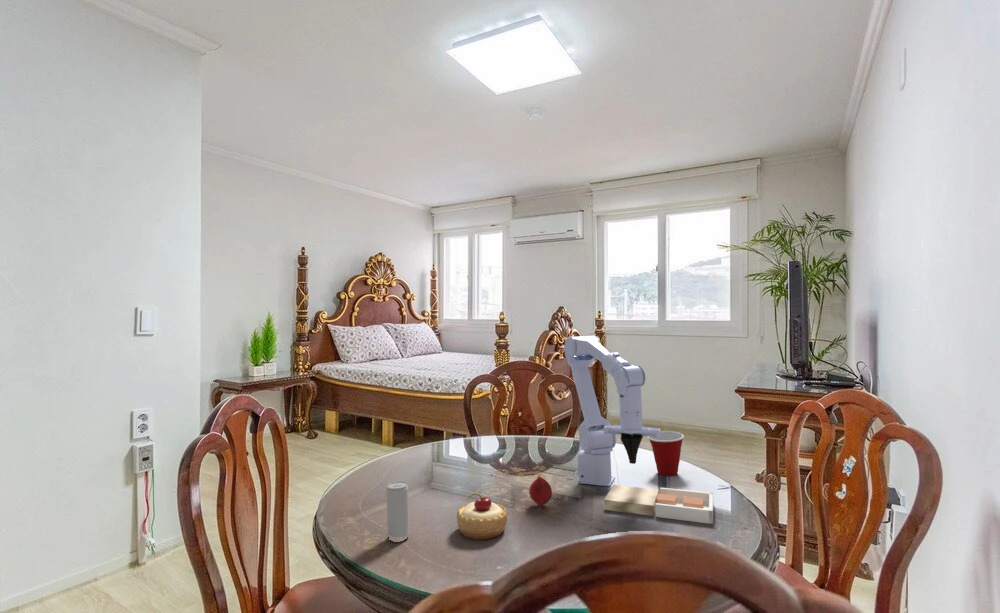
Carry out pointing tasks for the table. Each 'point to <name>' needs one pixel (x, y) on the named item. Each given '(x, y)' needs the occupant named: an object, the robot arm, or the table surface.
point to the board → (631, 500)
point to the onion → (540, 491)
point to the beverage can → (397, 509)
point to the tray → (686, 512)
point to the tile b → (693, 502)
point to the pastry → (482, 519)
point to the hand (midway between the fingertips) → (632, 462)
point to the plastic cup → (667, 452)
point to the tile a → (666, 499)
